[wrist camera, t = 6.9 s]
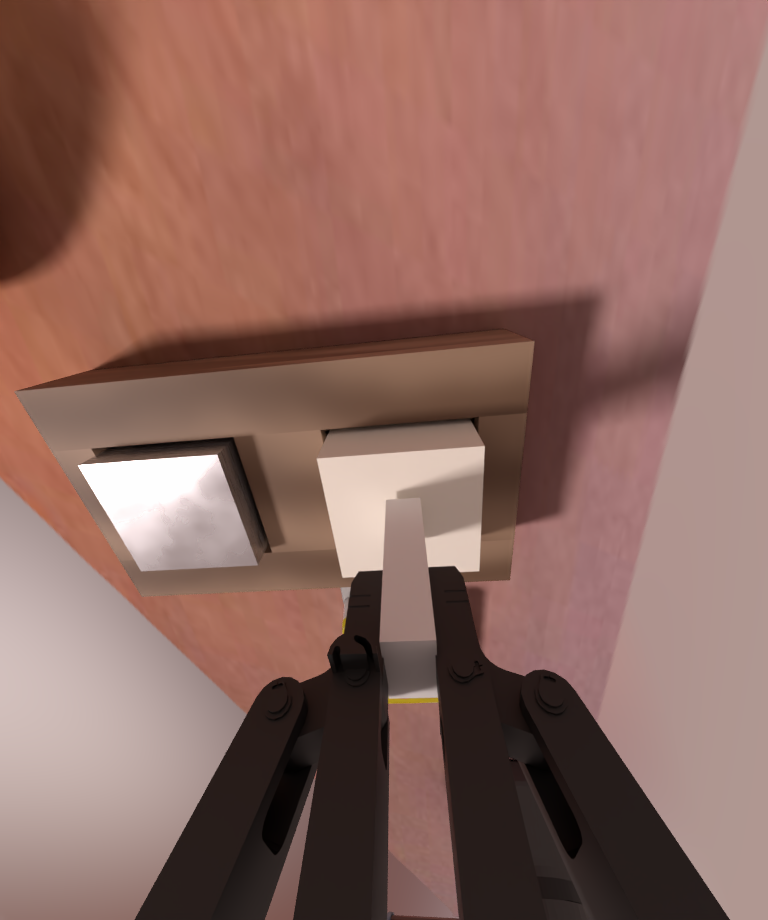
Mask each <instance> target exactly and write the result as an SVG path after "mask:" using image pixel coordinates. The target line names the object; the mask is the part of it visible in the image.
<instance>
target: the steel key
mask: <svg viewBox="0 0 768 920" xmlns="http://www.w3.org/2000/svg"><path fill="white" fill-rule="evenodd" d="M78 466H79V468H80V469H81V471H82V473H83V474H84V476H85V478H86V479H87V481H88V483H89V484H90V486H91V488H92V490H93V491H94V493H95V495H96V496H97V498H98V500H99V501H100V503H101V505H102V506H103V508H104V510H105V511H106V513H107V515H108V516H109V518H110V520H111V521H112V523H113V525H114V527H115V528H116V530H117V532H118V533H119V535H120V537H121V538H122V540H123V542H124V543H125V545H126V547H127V548H128V550H129V552H130V553H131V555H132V557H133V559H134V560H135V562H136V564H137V565H138V567H139V569H140V570H141V571H158V570H177V569H197V568H216V567H236V566H256V565H258V564H259V562H260V560H261V558H262V556H263V554H264V552H265V550H266V548H267V546H268V544H269V542H268V539H267V536H266V533H265V530H264V527H263V524H262V521H261V518H260V515H259V512H258V509H257V506H256V503H255V500H254V497H253V494H252V491H251V488H250V485H249V482H248V479H247V476H246V473H245V470H244V467H243V464H242V461H241V458H240V455H239V452H238V449H237V446H236V443H235V440H234V437H227V438H215V439H203V440H191V441H178V442H166V443H154V444H141V445H129V446H117V447H110V448H108V449H106V450H105V451H103V452H101V453H99V454H97V455H96V456H94V457H92V458H90V459H89V460H87V461H85V462H83V463H82V464H80V465H78Z"/></svg>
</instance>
